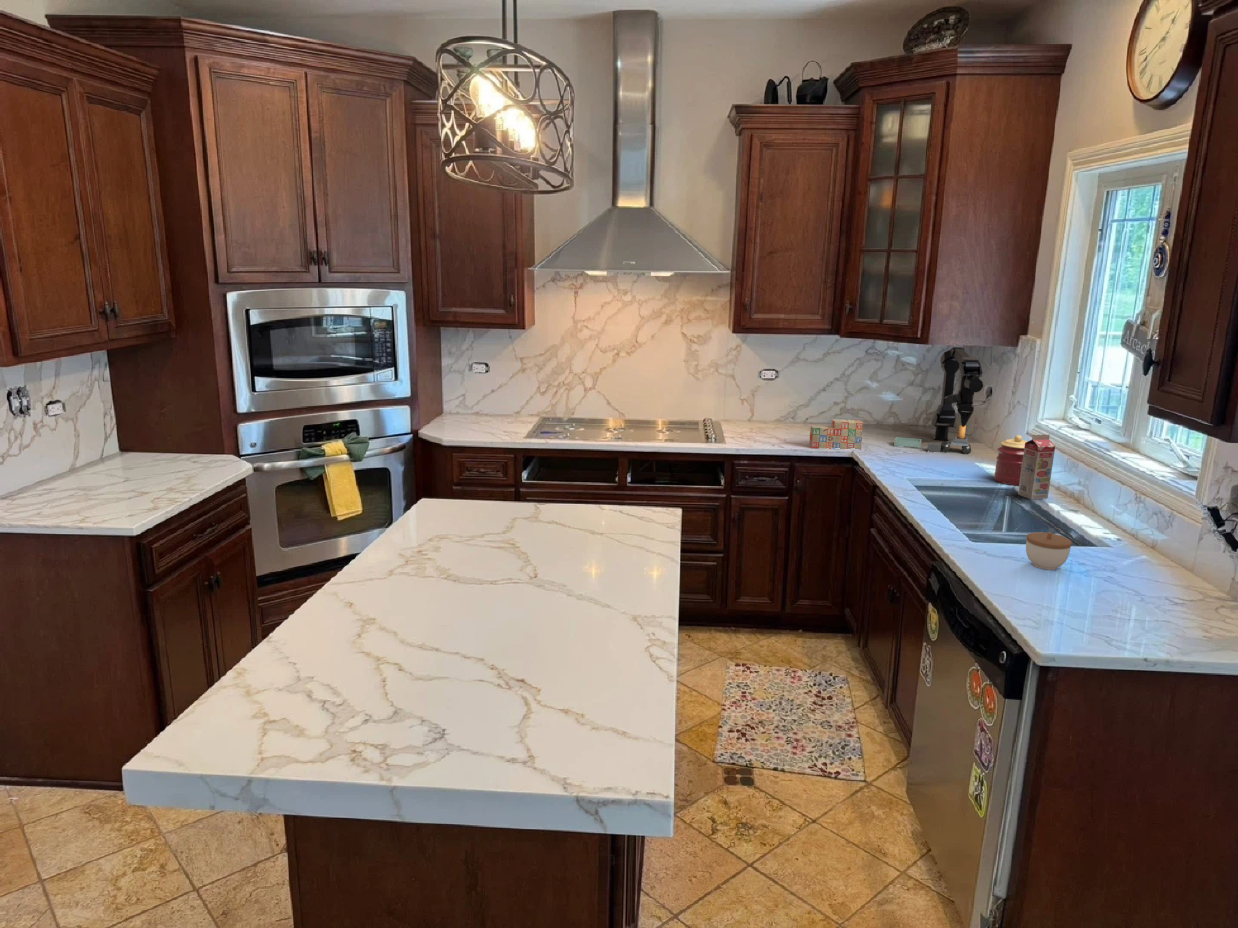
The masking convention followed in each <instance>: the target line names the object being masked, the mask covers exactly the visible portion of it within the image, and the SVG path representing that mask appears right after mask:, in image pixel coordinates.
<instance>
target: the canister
mask: <svg viewBox="0 0 1238 928" xmlns="http://www.w3.org/2000/svg"><path fill="white" fill-rule="evenodd" d="M1028 441H1029V440H1025V439H1023V437H1022V436H1021V435H1020V434H1019V435H1018V434H1017V435H1016V436H1014V438H1011V439H1010V438H1009V439H1005V440H1004V441H1000V445H1001V446H1000V447H998V448H997V451H998V455H997V456H996V463H995V471H994V473H993V474H994V475H993V476H994V480H995V481H996V482H999V483H1001V484H1004V485H1011V486H1019V483H1020V476H1021V469H1022V462H1023V454H1024V447H1025V443H1026V442H1028Z"/></svg>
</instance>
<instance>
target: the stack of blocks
mask: <svg viewBox="0 0 1238 928" xmlns="http://www.w3.org/2000/svg"><path fill="white" fill-rule="evenodd" d="M863 428H864V422H863V421H862V420H859V419H856V420H855V419H835V418H832V419H831V425H815V424H813V425H812V424H810V431H809V441H808V443H809V444H808V445H810V446H809V447H810V448H811V449H819V448H829V449H828V450H832V449H831V448H840V449H839V450H845V449H851V448H855V449H861V450H862V440H863V432H864V429H863Z"/></svg>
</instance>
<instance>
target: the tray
mask: <svg viewBox="0 0 1238 928" xmlns="http://www.w3.org/2000/svg"><path fill="white" fill-rule="evenodd" d="M893 444H894V447H895V446H906V447H905V448H907V447H917V448H916V449H918V448H920V449H921V447H922V439H921V438H912V437H909V438H908V437H901V436H900V437H899V436H896V437H895V438H894V443H893Z"/></svg>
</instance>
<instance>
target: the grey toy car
mask: <svg viewBox="0 0 1238 928" xmlns="http://www.w3.org/2000/svg"><path fill="white" fill-rule="evenodd" d="M940 443H941V448H940V451H941V452H942V453H948V452H949V451H950V450H951V448H950V446H961V452H962V453H963V454H964V455H969V454H971V452H972V447H971V444H970V443H969V437H968V436H967V437H966V436H965V439H959V438H958V435H957V436H956V435H955V436H954V438H950V441H945V440H942V441H941V442H940Z"/></svg>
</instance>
